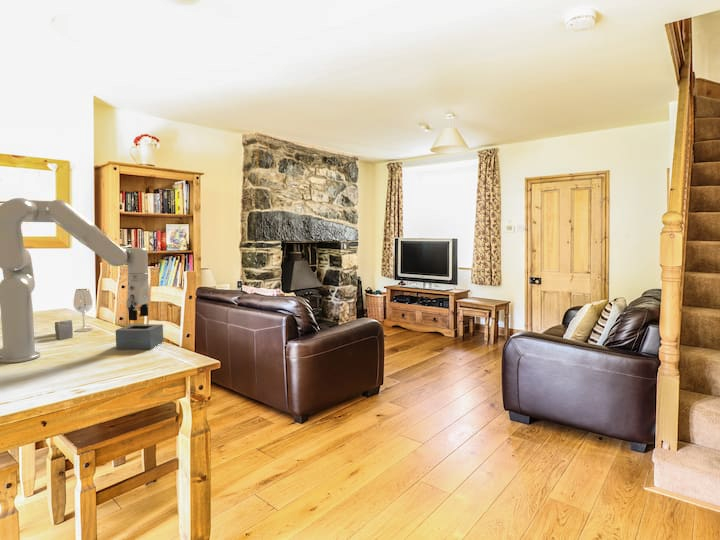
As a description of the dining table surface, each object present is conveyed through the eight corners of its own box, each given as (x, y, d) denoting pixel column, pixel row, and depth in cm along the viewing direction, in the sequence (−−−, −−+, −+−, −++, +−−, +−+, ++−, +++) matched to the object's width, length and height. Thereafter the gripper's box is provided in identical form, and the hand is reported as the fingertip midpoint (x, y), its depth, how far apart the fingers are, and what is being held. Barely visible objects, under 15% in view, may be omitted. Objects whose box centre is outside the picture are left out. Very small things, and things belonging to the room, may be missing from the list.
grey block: (79, 334, 208) (75, 318, 205) (62, 342, 200) (58, 326, 197) (66, 332, 209) (62, 316, 207) (49, 341, 201) (45, 324, 199)
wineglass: (78, 332, 214) (76, 290, 213) (71, 330, 219) (70, 289, 217) (96, 329, 220) (94, 289, 219) (89, 327, 225) (87, 288, 223)
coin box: (116, 349, 184) (115, 330, 183) (130, 342, 196) (130, 324, 195) (150, 349, 184) (150, 330, 183) (163, 342, 196) (162, 324, 195)
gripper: (136, 279, 179) (137, 322, 180) (156, 275, 196) (156, 314, 197) (117, 279, 179) (118, 321, 180) (138, 275, 196) (139, 314, 197)
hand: (138, 318), depth 189 cm, fingers open, 9 cm apart
